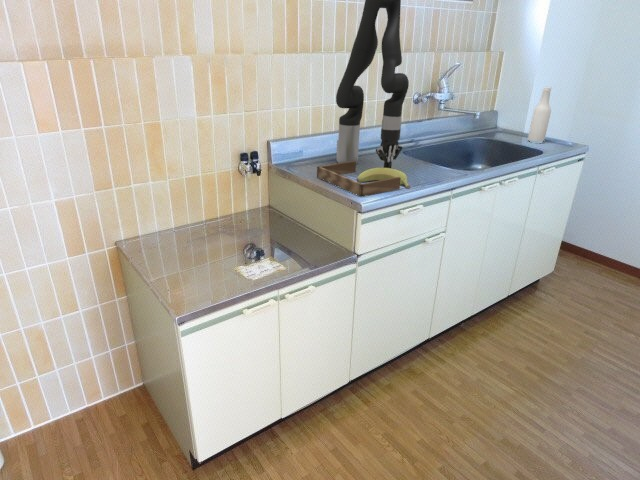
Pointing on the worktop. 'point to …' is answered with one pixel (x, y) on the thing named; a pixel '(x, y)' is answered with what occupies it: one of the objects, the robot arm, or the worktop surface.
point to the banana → (382, 175)
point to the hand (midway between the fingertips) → (387, 170)
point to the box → (334, 177)
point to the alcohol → (540, 117)
